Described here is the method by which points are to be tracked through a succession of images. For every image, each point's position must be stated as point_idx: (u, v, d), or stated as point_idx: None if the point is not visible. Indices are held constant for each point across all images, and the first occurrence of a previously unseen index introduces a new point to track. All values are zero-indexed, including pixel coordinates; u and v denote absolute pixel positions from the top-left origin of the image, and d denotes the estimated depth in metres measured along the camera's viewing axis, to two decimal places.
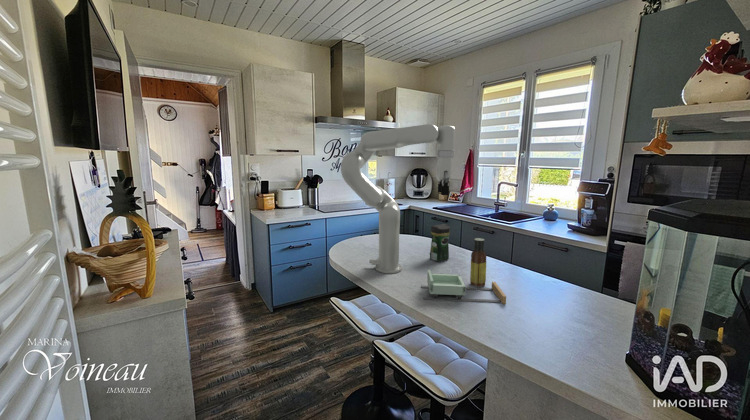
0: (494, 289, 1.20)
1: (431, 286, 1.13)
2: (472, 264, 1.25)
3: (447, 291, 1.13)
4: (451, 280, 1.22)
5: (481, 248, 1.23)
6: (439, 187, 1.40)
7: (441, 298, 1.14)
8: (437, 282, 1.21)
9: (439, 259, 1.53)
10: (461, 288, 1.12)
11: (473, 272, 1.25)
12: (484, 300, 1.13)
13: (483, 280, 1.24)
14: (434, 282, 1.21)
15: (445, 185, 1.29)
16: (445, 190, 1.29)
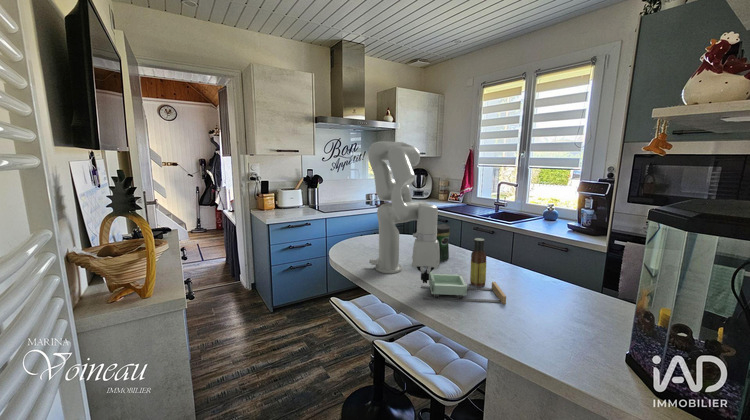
0: (494, 289, 1.20)
1: (432, 286, 1.13)
2: (472, 264, 1.25)
3: (448, 291, 1.13)
4: (452, 280, 1.22)
5: (481, 248, 1.23)
6: None
7: (441, 298, 1.14)
8: (438, 282, 1.21)
9: None
10: (462, 288, 1.12)
11: (473, 272, 1.25)
12: (484, 300, 1.13)
13: (483, 280, 1.24)
14: (435, 282, 1.21)
15: None
16: (428, 276, 1.18)
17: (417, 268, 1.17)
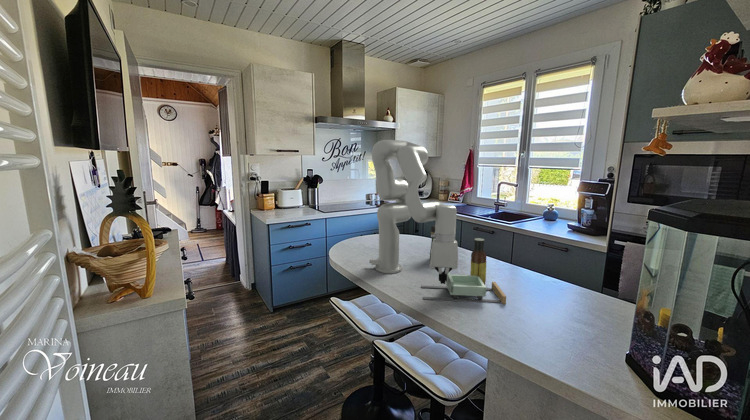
0: (494, 289, 1.20)
1: (451, 287, 1.12)
2: (472, 264, 1.25)
3: (467, 292, 1.12)
4: (470, 281, 1.22)
5: (481, 248, 1.23)
6: None
7: (441, 298, 1.14)
8: (456, 283, 1.21)
9: None
10: (481, 289, 1.12)
11: (473, 272, 1.25)
12: (484, 300, 1.13)
13: (483, 280, 1.24)
14: None
15: None
16: (446, 277, 1.18)
17: None
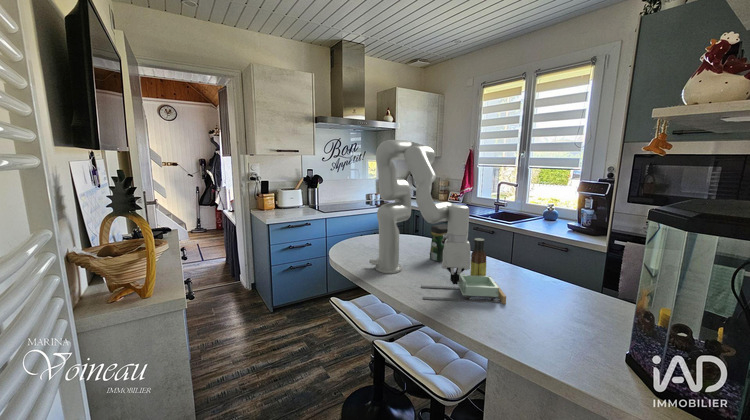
0: None
1: (464, 287, 1.12)
2: (472, 264, 1.25)
3: (480, 292, 1.12)
4: (481, 281, 1.21)
5: (481, 248, 1.23)
6: None
7: (441, 298, 1.14)
8: (467, 283, 1.20)
9: (439, 259, 1.53)
10: (494, 289, 1.11)
11: (473, 272, 1.25)
12: (484, 300, 1.13)
13: None
14: None
15: None
16: (458, 278, 1.17)
17: (447, 269, 1.16)
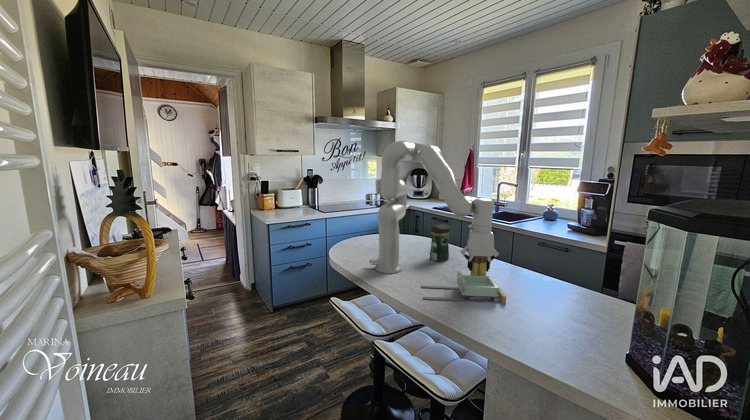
0: None
1: (464, 287, 1.12)
2: (472, 264, 1.25)
3: (480, 292, 1.12)
4: (481, 281, 1.21)
5: None
6: (471, 265, 1.25)
7: (441, 298, 1.14)
8: (467, 283, 1.20)
9: (439, 259, 1.53)
10: (494, 289, 1.11)
11: (474, 272, 1.25)
12: (484, 300, 1.13)
13: None
14: None
15: None
16: None
17: (464, 256, 1.25)
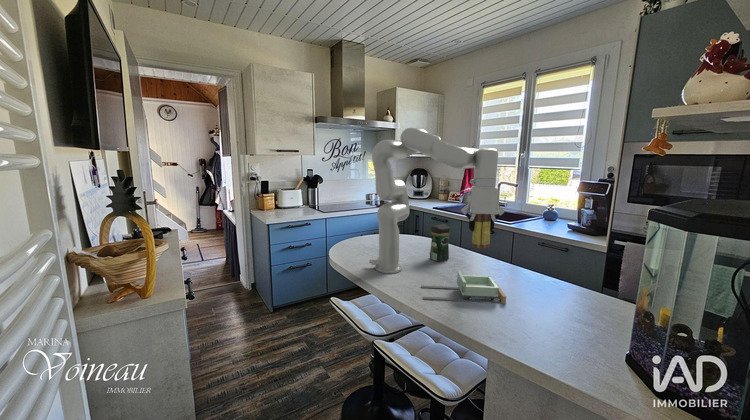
0: None
1: (464, 287, 1.12)
2: (474, 223, 1.12)
3: (480, 292, 1.12)
4: (481, 281, 1.21)
5: None
6: (473, 225, 1.12)
7: (441, 298, 1.14)
8: (467, 283, 1.20)
9: (439, 259, 1.53)
10: (494, 289, 1.11)
11: (476, 233, 1.11)
12: (484, 300, 1.13)
13: (487, 241, 1.11)
14: None
15: None
16: None
17: (466, 215, 1.12)
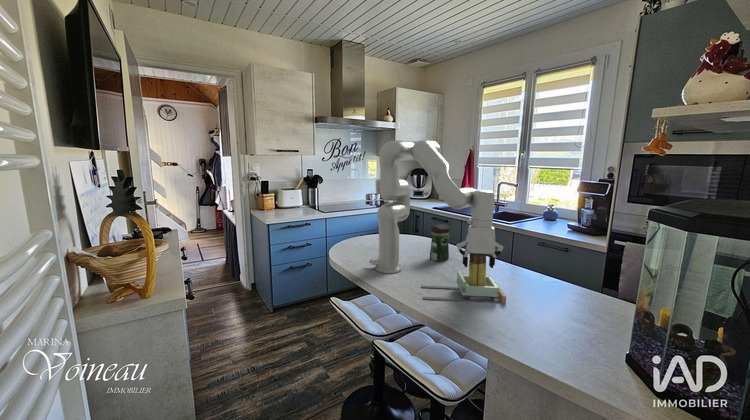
0: None
1: (464, 287, 1.12)
2: (471, 265, 1.15)
3: (480, 292, 1.12)
4: None
5: None
6: None
7: (441, 298, 1.14)
8: (467, 283, 1.20)
9: (439, 259, 1.53)
10: (494, 289, 1.11)
11: (472, 274, 1.15)
12: (484, 300, 1.13)
13: (483, 282, 1.14)
14: None
15: None
16: None
17: (459, 251, 1.14)
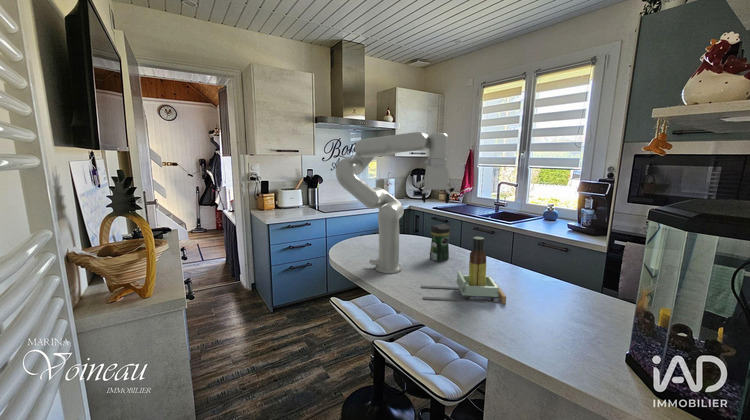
0: None
1: (464, 287, 1.12)
2: (471, 265, 1.15)
3: (480, 292, 1.12)
4: None
5: (481, 247, 1.13)
6: None
7: (441, 298, 1.14)
8: (467, 283, 1.20)
9: (439, 259, 1.53)
10: (494, 289, 1.11)
11: (472, 274, 1.15)
12: (484, 300, 1.13)
13: (483, 282, 1.14)
14: None
15: None
16: None
17: (418, 188, 1.30)
